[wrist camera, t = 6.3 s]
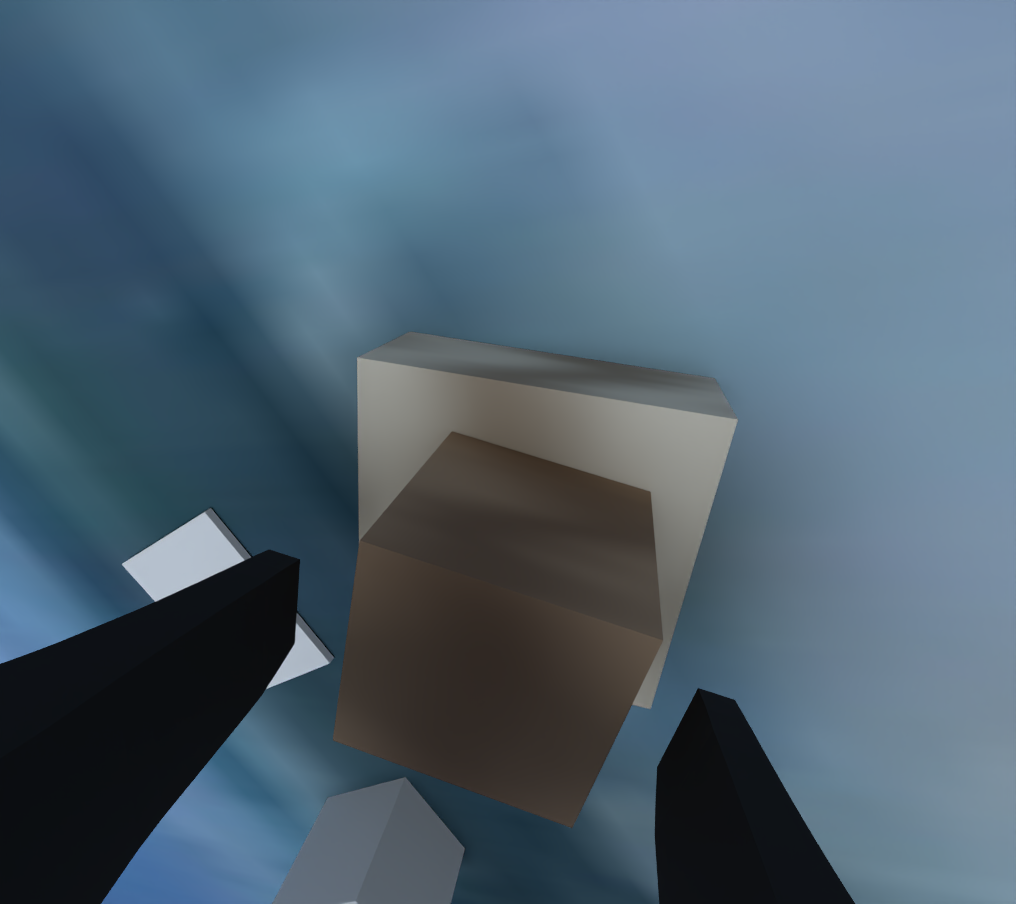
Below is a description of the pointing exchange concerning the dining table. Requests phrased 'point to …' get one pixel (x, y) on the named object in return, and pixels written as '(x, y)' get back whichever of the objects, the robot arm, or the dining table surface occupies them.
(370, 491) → the birch base block
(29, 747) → the robot arm
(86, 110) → the dining table surface
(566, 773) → the walnut block
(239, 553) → the card
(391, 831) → the grey block
